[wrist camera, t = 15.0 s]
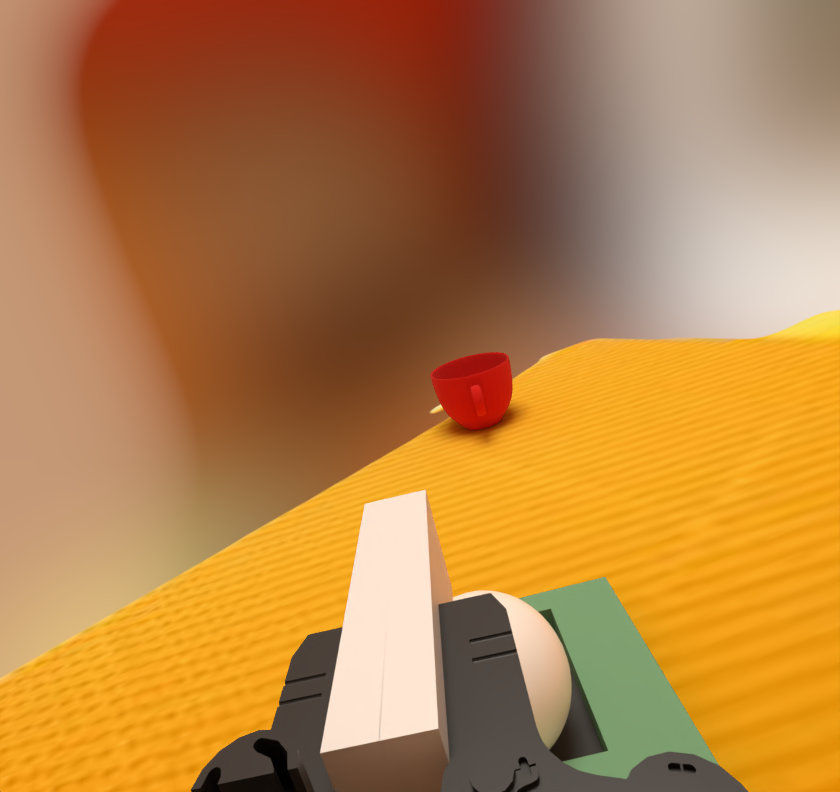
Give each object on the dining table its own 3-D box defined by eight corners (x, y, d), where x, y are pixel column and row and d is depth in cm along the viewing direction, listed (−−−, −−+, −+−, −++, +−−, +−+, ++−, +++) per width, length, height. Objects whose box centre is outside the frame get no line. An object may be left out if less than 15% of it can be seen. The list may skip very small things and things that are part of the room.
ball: (603, 603, 35) (595, 774, 33) (475, 574, 41) (462, 716, 39) (523, 619, 27) (507, 841, 26) (383, 581, 34) (363, 755, 32)
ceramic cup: (447, 455, 81) (430, 393, 78) (444, 418, 97) (429, 365, 94) (532, 435, 79) (518, 371, 77) (515, 400, 96) (502, 346, 93)
